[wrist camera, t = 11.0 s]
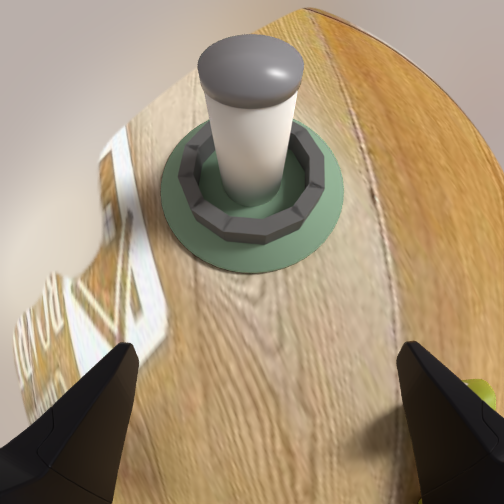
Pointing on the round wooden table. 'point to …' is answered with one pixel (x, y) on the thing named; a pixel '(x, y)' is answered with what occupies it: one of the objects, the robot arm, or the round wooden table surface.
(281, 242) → the green round disc
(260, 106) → the white gray-capped cylinder
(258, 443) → the round wooden table surface
